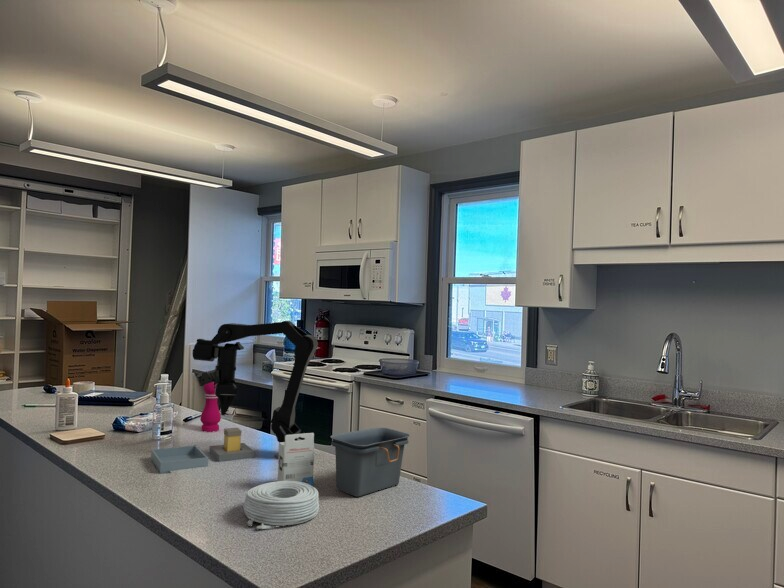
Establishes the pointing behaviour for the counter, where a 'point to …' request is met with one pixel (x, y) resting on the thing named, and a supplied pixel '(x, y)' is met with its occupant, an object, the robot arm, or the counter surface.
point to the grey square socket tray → (231, 453)
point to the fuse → (232, 439)
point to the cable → (281, 504)
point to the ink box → (296, 458)
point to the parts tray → (178, 458)
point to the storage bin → (368, 459)
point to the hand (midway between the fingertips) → (222, 411)
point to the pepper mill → (210, 410)
